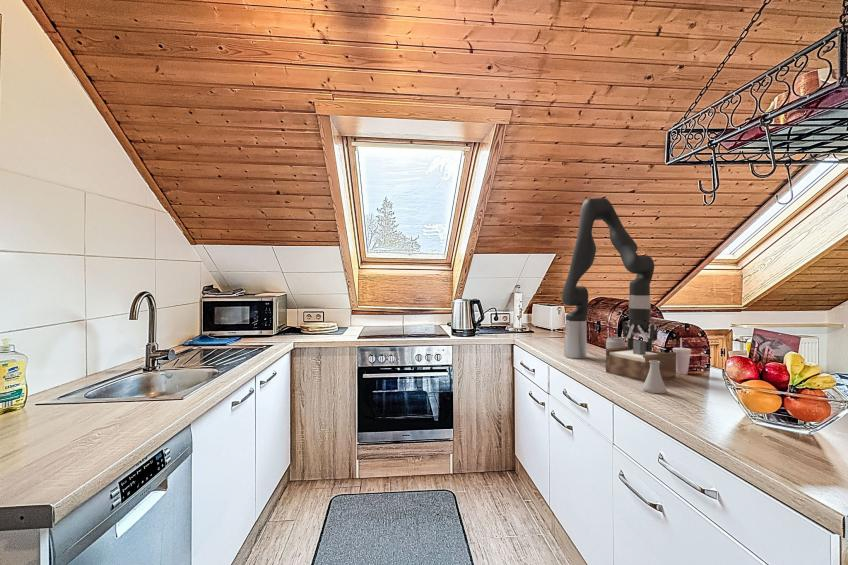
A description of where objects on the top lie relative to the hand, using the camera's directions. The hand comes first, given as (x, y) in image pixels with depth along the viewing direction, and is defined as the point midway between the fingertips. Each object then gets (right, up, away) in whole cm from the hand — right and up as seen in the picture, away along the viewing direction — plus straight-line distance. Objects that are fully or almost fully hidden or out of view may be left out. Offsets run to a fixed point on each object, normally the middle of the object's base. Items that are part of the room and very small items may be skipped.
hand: (639, 349), depth 164 cm
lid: (0, -3, 0) cm, 3 cm away
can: (-1, -10, +18) cm, 21 cm away
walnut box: (0, -10, 0) cm, 10 cm away
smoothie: (+18, -10, +3) cm, 21 cm away
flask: (-6, -10, -22) cm, 25 cm away
